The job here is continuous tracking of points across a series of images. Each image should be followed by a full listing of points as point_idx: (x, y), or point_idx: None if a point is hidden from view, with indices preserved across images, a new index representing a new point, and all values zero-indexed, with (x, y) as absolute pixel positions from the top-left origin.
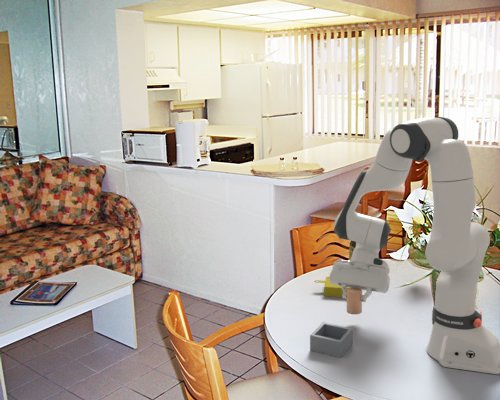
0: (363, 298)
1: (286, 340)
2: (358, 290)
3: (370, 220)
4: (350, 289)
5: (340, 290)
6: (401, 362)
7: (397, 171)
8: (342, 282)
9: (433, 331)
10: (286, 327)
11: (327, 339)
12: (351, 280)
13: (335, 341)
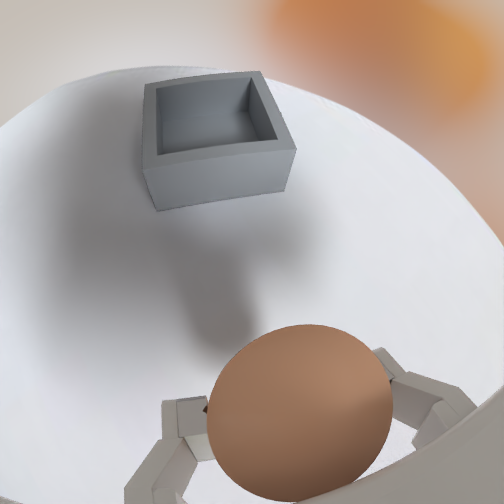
0: (176, 408)
1: (345, 123)
2: (263, 449)
3: None
4: (359, 408)
5: None
6: (4, 209)
7: None
8: (484, 402)
9: None
10: (409, 182)
11: (195, 77)
12: (435, 484)
13: (165, 81)
